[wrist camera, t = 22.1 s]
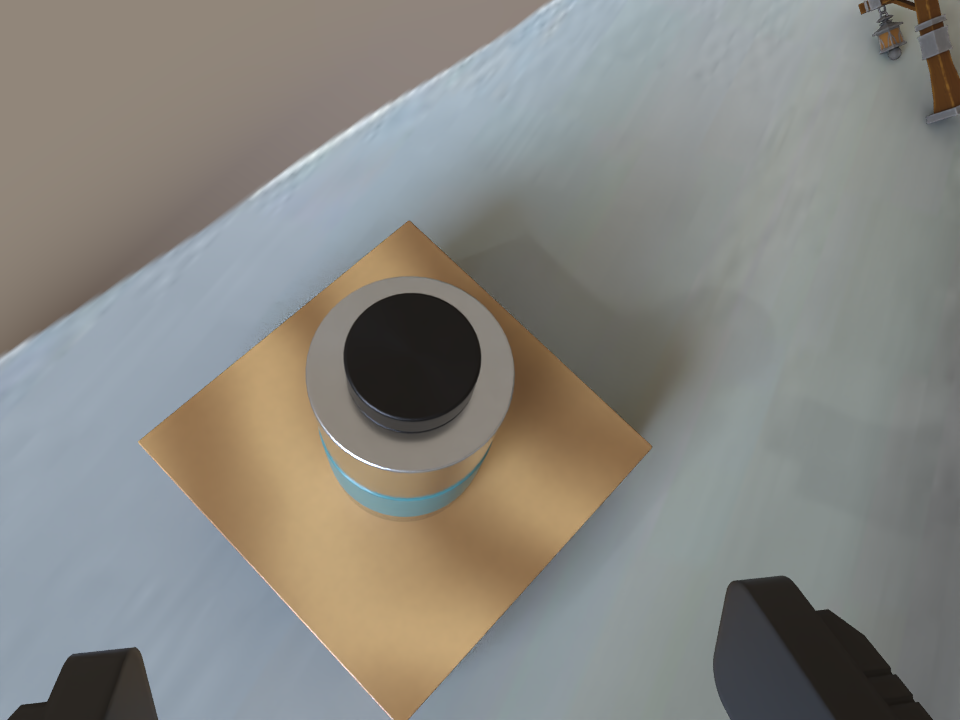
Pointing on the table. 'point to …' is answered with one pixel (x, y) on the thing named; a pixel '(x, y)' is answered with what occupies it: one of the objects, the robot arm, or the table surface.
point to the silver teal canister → (408, 393)
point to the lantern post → (923, 50)
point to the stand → (383, 543)
